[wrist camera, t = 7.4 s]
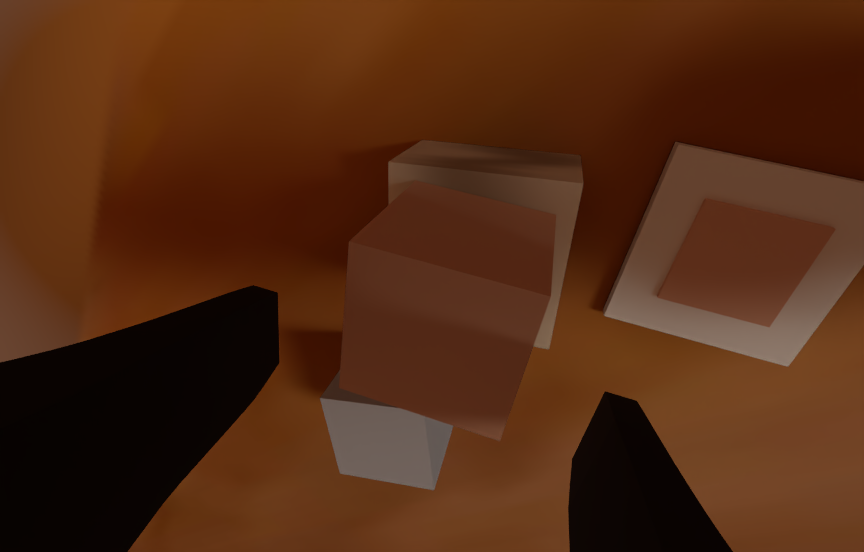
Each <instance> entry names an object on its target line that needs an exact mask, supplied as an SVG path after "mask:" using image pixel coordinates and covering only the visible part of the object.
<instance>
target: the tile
mask: <svg viewBox="0 0 864 552" xmlns="http://www.w3.org/2000/svg"><path fill="white" fill-rule="evenodd" d="M863 265H864V181H860V180H856V179H851V178H846V177H841V176H836V175H832V174H827V173H822V172H817V171H813V170H808V169H803V168H798V167H794V166H789V165H784V164H779V163H775V162H770V161H765V160H760V159H756V158H751V157H746V156H741V155H737V154H732V153H727V152H722V151H718V150H713V149H708V148H703V147H699V146H694V145H689V144H684V143H680V142H675V144H674V146H673V148H672V151H671V153H670V155H669V158H668V160H667V162H666V164H665V167H664V169H663V171H662V174H661V176H660V178H659V181H658V183H657V185H656V188H655V190H654V192H653V195H652V197H651V199H650V202H649V204H648V206H647V209H646V211H645V213H644V216H643V218H642V220H641V223H640V225H639V227H638V230H637V232H636V234H635V237H634V239H633V241H632V244H631V246H630V248H629V251H628V253H627V255H626V257H625V260H624V262H623V264H622V267H621V269H620V271H619V274H618V276H617V278H616V281H615V283H614V285H613V288H612V290H611V292H610V295H609V297H608V299H607V302H606V304H605V306H604V309H603V313H604V316H606V317H610V318H613V319H617V320H621V321H624V322H628V323H632V324H635V325H639V326H642V327H646V328H650V329H653V330H657V331H661V332H664V333H668V334H671V335H675V336H679V337H682V338H686V339H690V340H693V341H697V342H700V343H704V344H708V345H711V346H715V347H719V348H722V349H726V350H729V351H733V352H737V353H740V354H744V355H748V356H751V357H755V358H758V359H762V360H766V361H769V362H773V363H776V364H780V365H784V366H787V367H788V366H789V365H790V363H791V362H792V361H793V359H794V358H795V357H796V355H797V354H798V353H799V351H800V350H801V349H802V347H803V346H804V345H805V343H806V342H807V341H808V339H809V338H810V337H811V335H812V334H813V333H814V331H815V330H816V329H817V327H818V326H819V325H820V323H821V322H822V321H823V319H824V318H825V316H826V315H827V314H828V312H829V311H830V310H831V308H832V307H833V306H834V304H835V303H836V302H837V300H838V299H839V298H840V296H841V295H842V294H843V292H844V291H845V290H846V288H847V287H848V286H849V284H850V283H851V282H852V280H853V279H854V278H855V276H856V275H857V274H858V272H859V271H860V270H861V268H862V267H863Z"/></svg>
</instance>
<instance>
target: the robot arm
mask: <svg viewBox="0 0 864 552" xmlns="http://www.w3.org/2000/svg"><path fill="white" fill-rule="evenodd" d="M278 364H279V330H278V293H277V292H274V291H270V290H267V289H264V288H260V287H257V286H254V285H253V286H250V287H246V288H243V289H239V290H236V291H233V292H230V293H227V294H224V295H221V296H218V297H216V298H213V299H210V300H207V301H204V302H201V303H199V304H196V305H193V306H190V307H187V308H184V309H182V310H179V311H176V312H173V313H170V314H167V315H164V316H162V317H159V318H156V319H153V320H150V321H147V322H144V323H141V324H138V325H134V326H131V327H128V328H125V329H122V330H118V331H115V332H112V333H109V334H106V335H103V336H99V337H96V338H93V339H90V340H87V341H83V342H80V343H76V344H73V345H69V346H65V347H61V348H58V349H54V350H51V351H46V352H42V353H38V354H34V355H30V356H26V357H22V358H18V359H14V360H9V361H5V362H1V363H0V552H128V550H129V549H130V547H131V546H132V545H133V543H134V542H135V541H136V539H137V538H138V537H139V535H140V534H141V533H142V531H143V530H144V529H145V527H146V526H147V525H148V523H149V522H150V520H151V519H152V518H153V516H154V515H155V514H156V512H157V511H158V510H159V508H160V507H161V506H162V504H163V503H164V502H165V501H166V499H167V498H168V497H169V496H170V495H171V493H172V492H173V491H174V490H175V489H176V487H177V486H178V485H179V484H180V483H181V481H182V480H183V479H184V478H185V477H186V476H187V475H188V474H189V473H190V471H191V470H192V469H193V468H194V467H195V466H196V465H197V464H198V462H199V461H200V460H201V459H202V458H203V457H204V456H205V455H206V454H207V452H208V451H209V450H210V449H211V448H212V447H213V446H214V445H215V443H216V442H217V441H218V440H219V439H220V438H221V437H222V436H223V435H224V433H225V432H226V431H227V430H228V429H229V428H230V427H231V426H232V424H233V423H234V422H235V421H236V420H237V419H238V418H239V416H240V415H241V414H242V413H243V412H244V411H245V410H246V408H247V407H248V406H249V405H250V404H251V403H252V401H253V400H254V399H255V398H256V396H257V395H258V393H259V392H260V391H261V389H262V388H263V386H264V385H265V383H266V382H267V380H268V379H269V377H270V376H271V374H272V373H273V371H274V370H275V368H276V367H277V365H278ZM568 512H569V541H570V552H733V551H732V550H731V548H730V547H729V546H728V544H727V543H726V541H725V540H724V539H723V537H722V536H721V534H720V533H719V531H718V530H717V528H716V527H715V525H714V524H713V522H712V521H711V519H710V518H709V516H708V515H707V513H706V512H705V510H704V509H703V507H702V506H701V504H700V503H699V501H698V500H697V498H696V497H695V495H694V494H693V492H692V490H691V489H690V487H689V486H688V484H687V483H686V481H685V479H684V478H683V476H682V475H681V473H680V471H679V470H678V468H677V466H676V465H675V463H674V462H673V460H672V458H671V457H670V455H669V453H668V452H667V450H666V448H665V447H664V445H663V443H662V442H661V440H660V438H659V437H658V435H657V433H656V432H655V430H654V428H653V427H652V425H651V423H650V422H649V420H648V418H647V417H646V415H645V413H644V412H643V410H642V408H641V407H640V405H639V404H638V402H637V401H635V400H632V399H629V398H625V397H622V396H619V395H615V394H612V393H609V392H605V393H604V395H603V397H602V399H601V401H600V403H599V405H598V407H597V409H596V411H595V413H594V415H593V417H592V419H591V421H590V423H589V426H588V428H587V430H586V432H585V434H584V436H583V438H582V440H581V442H580V444H579V446H578V448H577V450H576V452H575V454H574V456H573V458H572V468H571V479H570V492H569V507H568Z"/></svg>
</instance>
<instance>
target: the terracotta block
mask: <svg viewBox="0 0 864 552" xmlns="http://www.w3.org/2000/svg"><path fill="white" fill-rule="evenodd" d="M555 227H556V215H555V214H551V213H547V212H543V211H539V210H535V209H530V208H526V207H522V206H518V205H514V204H510V203H506V202H502V201H498V200H494V199H490V198H486V197H482V196H478V195H473V194H469V193H465V192H461V191H457V190H453V189H449V188H445V187H441V186H437V185H433V184H429V183H425V182H420V181H416V180H415V181H414V182H413V183H412V184H411V185H410V186H409V187H408V188H407V189H406V190H404V191H403V192H402V193H401V194H400V195H399V196H398V197H397V198H396V199H395V200H393V201H392V202H391V203H390V204H389V205H388V206H387V207H386V208H385V209H384V210H383V211H381V212H380V213H379V214H378V215H377V216H376V217H375V218H374V219H373V220H372V221H371V222H369V223H368V224H367V225H366V226H365V227H364V228H363V229H362V230H361V231H360V232H359V233H357V234H356V235H355V236H354V237H353V238H352V239H351V240H350V241H349V248H348V262H347V277H346V291H345V306H344V320H343V335H342V350H341V364H340V379H339V388H341V389H344V390H347V391H350V392H353V393H356V394H359V395H362V396H365V397H368V398H371V399H374V400H377V401H380V402H383V403H386V404H389V405H392V406H395V407H398V408H401V409H404V410H407V411H410V412H413V413H416V414H419V415H422V416H425V417H428V418H431V419H434V420H437V421H440V422H443V423H446V424H449V425H452V426H455V427H458V428H461V429H464V430H467V431H470V432H474V433H477V434H480V435H483V436H486V437H489V438H492V439H495V440H498V441H500V439H501V436H502V433H503V430H504V428H505V425H506V422H507V419H508V416H509V413H510V411H511V408H512V405H513V402H514V399H515V397H516V394H517V391H518V388H519V385H520V382H521V380H522V377H523V374H524V371H525V368H526V365H527V363H528V360H529V357H530V354H531V351H532V349H533V346H534V343H535V340H536V337H537V334H538V332H539V329H540V326H541V323H542V320H543V318H544V315H545V312H546V309H547V306H548V303H549V301H550V298H551V287H552V272H553V257H554V242H555Z"/></svg>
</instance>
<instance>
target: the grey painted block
mask: <svg viewBox="0 0 864 552" xmlns="http://www.w3.org/2000/svg"><path fill="white" fill-rule="evenodd" d="M339 379H340V370H339V372H338V373H337V375H336V376H335V377H334V379H333V380H332V382H331V383H330V385H329V386H328V387H327V389H326V390H325V392H324V393H323V395H322V396H321V397H320V400H321V403H322V407H323V411H324V415H325V419H326V422H327V426H328V430H329V434H330V437H331V441H332V445H333V449H334V452H335V456H336V460H337V464H338V467H339V471H340V473H341V474H346V475H352V476H357V477H363V478H369V479H374V480H380V481H386V482H391V483H397V484H402V485H408V486H414V487H419V488H425V489H431V490H434V489H435V485H436V482H437V479H438V475H439V472H440V469H441V465H442V462H443V459H444V455H445V452H446V449H447V445H448V442H449V439H450V435H451V432H452V429H453V426H452V425H449V424H446V423H443V422H440V421H437V420H434V419H431V418H428V417H425V416H422V415H419V414H416V413H413V412H410V411H407V410H404V409H401V408H398V407H395V406H392V405H389V404H386V403H383V402H380V401H377V400H374V399H371V398H368V397H365V396H362V395H359V394H356V393H353V392H350V391H347V390H344V389H341V388H339Z"/></svg>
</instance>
